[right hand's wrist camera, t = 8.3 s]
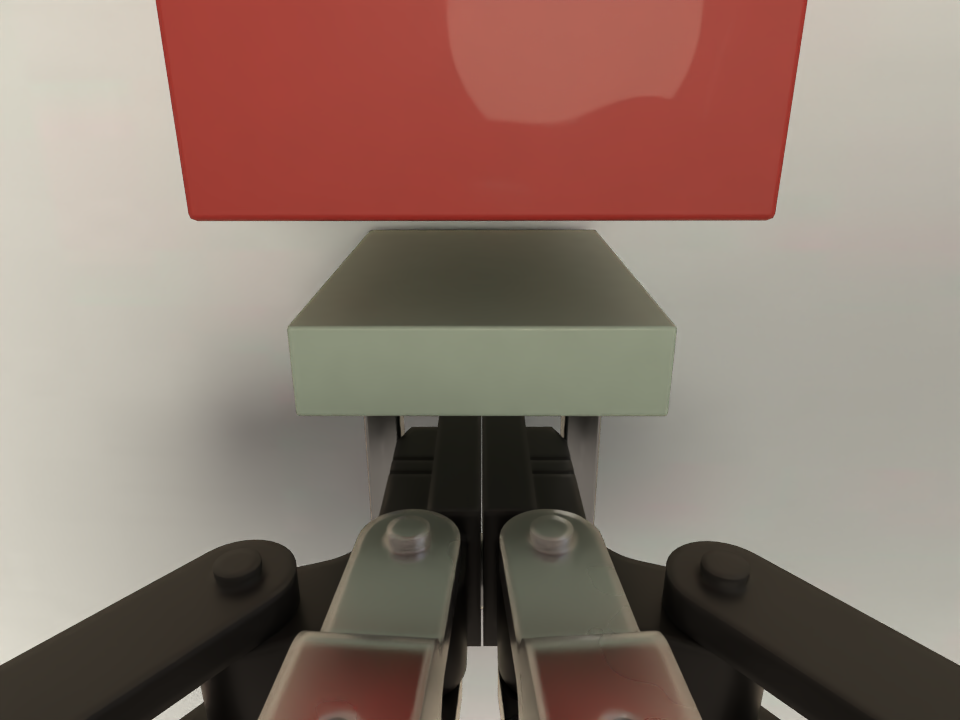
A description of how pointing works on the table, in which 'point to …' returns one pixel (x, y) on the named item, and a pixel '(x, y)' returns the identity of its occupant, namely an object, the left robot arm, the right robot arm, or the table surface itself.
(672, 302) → the table surface
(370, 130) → the cabinet
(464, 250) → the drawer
